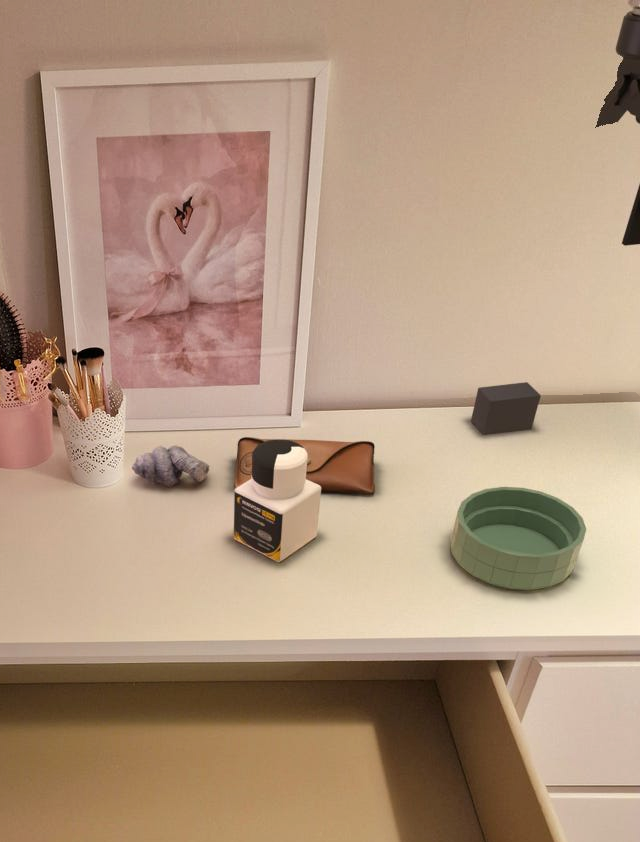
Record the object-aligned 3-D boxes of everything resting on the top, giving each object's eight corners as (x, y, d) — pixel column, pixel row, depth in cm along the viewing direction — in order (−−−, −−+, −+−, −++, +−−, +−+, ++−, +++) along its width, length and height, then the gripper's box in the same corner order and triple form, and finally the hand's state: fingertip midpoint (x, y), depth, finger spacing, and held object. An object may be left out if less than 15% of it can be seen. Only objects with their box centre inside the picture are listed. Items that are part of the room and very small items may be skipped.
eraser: (518, 415, 121) (527, 381, 118) (531, 429, 119) (541, 395, 115) (470, 420, 121) (478, 387, 118) (482, 435, 118) (490, 401, 115)
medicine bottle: (232, 539, 103) (233, 450, 95) (271, 514, 106) (276, 425, 98) (278, 564, 99) (284, 473, 91) (317, 537, 103) (326, 447, 94)
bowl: (538, 516, 104) (549, 480, 100) (595, 584, 94) (609, 547, 91) (432, 530, 102) (439, 494, 99) (479, 600, 93) (489, 563, 89)
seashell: (210, 485, 114) (134, 491, 114) (207, 444, 114) (131, 450, 114) (211, 481, 109) (132, 487, 109) (208, 438, 108) (128, 444, 108)
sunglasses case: (233, 490, 110) (235, 435, 108) (235, 488, 116) (237, 437, 115) (378, 494, 108) (382, 439, 106) (371, 492, 114) (375, 440, 113)
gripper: (570, -2, 100) (526, 197, 114) (704, 30, 81) (630, 263, 96) (632, -7, 100) (580, 192, 115) (778, 24, 82) (694, 257, 96)
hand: (603, 225), depth 105 cm, fingers open, 13 cm apart
